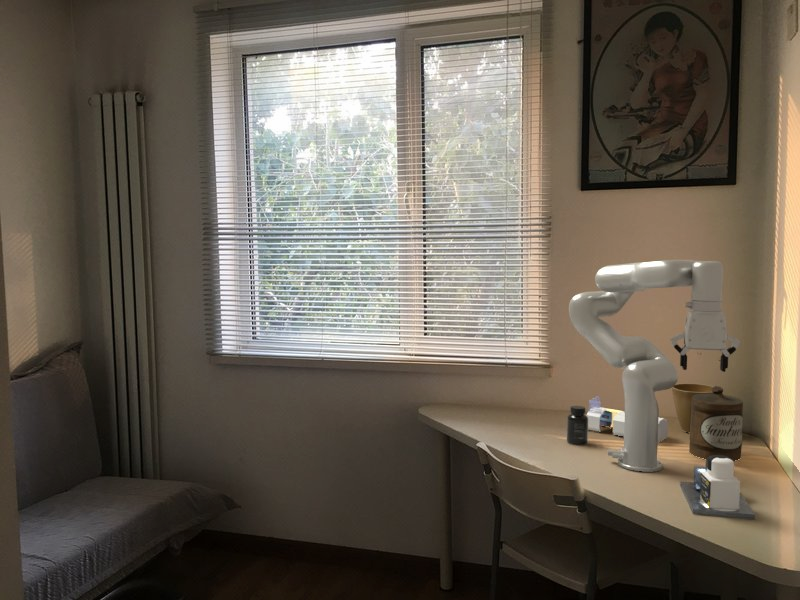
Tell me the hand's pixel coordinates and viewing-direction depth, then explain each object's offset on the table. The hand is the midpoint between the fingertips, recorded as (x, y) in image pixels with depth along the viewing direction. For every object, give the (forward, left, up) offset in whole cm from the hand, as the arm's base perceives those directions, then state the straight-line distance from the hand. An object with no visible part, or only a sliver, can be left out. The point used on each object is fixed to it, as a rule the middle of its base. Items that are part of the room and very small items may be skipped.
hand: (703, 370), depth 181 cm
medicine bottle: (+2, -16, -31) cm, 35 cm away
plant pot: (+8, +58, -32) cm, 67 cm away
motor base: (+2, -11, -32) cm, 34 cm away
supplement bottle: (-32, +34, -32) cm, 57 cm away
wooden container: (+10, +31, -32) cm, 46 cm away
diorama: (-15, +48, -33) cm, 61 cm away
